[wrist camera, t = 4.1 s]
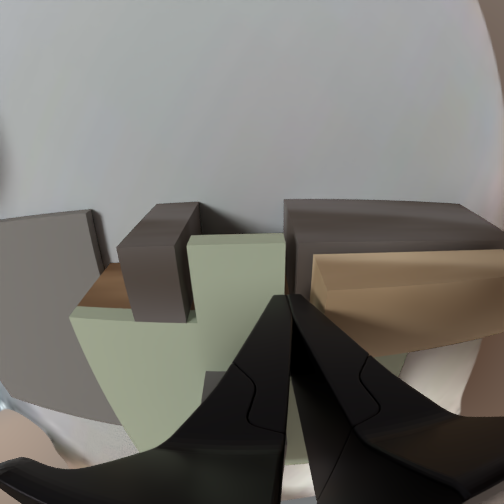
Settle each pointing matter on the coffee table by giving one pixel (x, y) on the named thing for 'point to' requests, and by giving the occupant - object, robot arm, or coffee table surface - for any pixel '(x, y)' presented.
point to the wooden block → (411, 297)
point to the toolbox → (296, 254)
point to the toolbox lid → (191, 340)
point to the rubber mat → (49, 312)
